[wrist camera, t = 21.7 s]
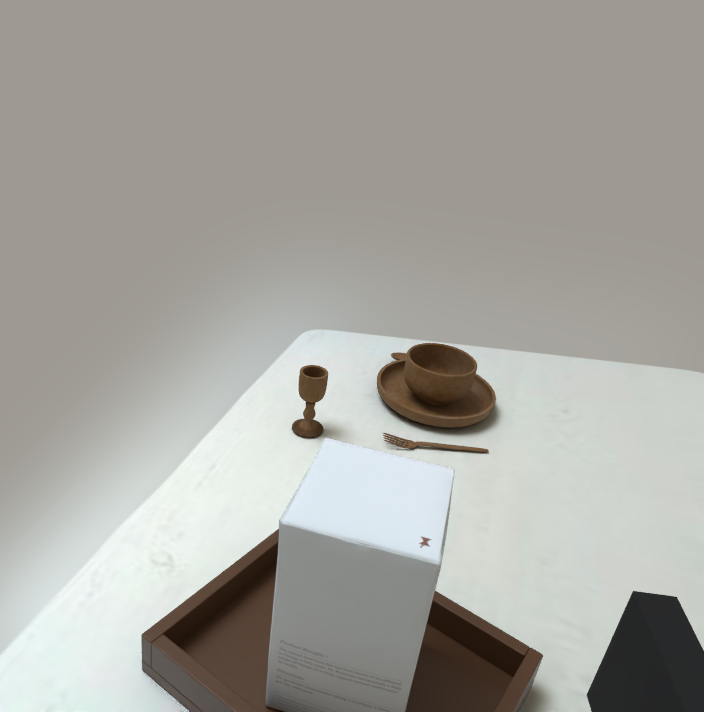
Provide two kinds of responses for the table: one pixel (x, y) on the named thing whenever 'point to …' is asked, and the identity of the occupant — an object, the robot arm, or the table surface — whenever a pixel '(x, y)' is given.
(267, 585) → the tray
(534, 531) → the table surface
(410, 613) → the white packaging box
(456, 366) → the place setting
